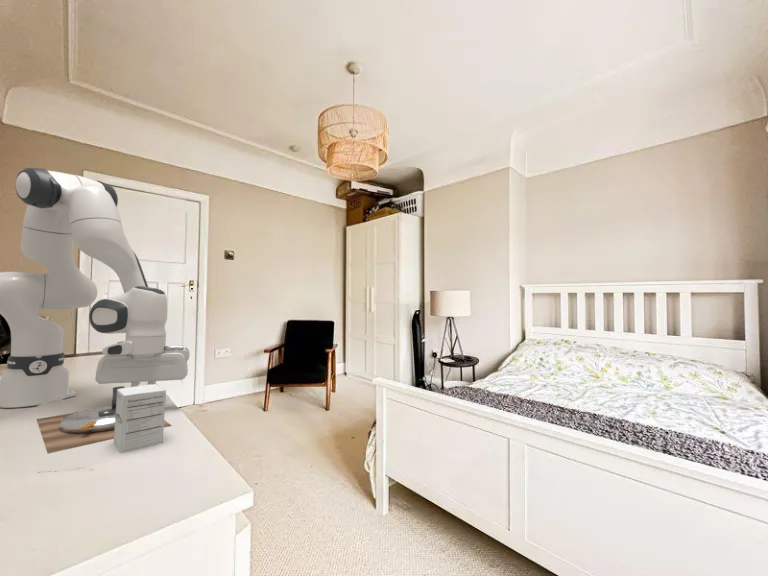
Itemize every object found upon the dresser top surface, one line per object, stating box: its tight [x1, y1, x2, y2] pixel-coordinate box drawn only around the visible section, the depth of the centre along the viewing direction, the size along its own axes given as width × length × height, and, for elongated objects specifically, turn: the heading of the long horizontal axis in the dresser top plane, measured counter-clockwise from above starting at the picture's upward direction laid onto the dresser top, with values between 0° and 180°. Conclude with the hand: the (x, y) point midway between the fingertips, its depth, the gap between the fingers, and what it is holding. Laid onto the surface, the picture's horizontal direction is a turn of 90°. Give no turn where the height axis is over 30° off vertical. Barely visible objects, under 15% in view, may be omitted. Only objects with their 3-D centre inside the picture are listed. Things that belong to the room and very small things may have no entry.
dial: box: [60, 385, 126, 433], centre depth 80 cm, size 18×16×6 cm
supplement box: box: [113, 384, 167, 454], centre depth 70 cm, size 7×7×13 cm
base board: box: [36, 411, 173, 454], centre depth 81 cm, size 28×21×2 cm
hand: (142, 398), depth 90 cm, fingers closed
